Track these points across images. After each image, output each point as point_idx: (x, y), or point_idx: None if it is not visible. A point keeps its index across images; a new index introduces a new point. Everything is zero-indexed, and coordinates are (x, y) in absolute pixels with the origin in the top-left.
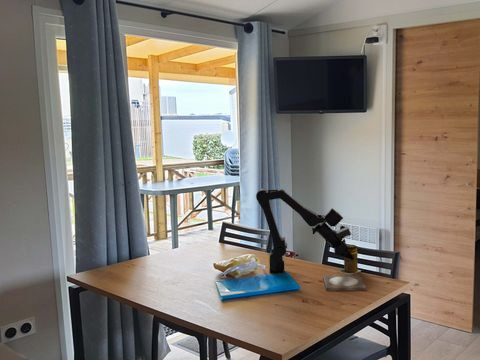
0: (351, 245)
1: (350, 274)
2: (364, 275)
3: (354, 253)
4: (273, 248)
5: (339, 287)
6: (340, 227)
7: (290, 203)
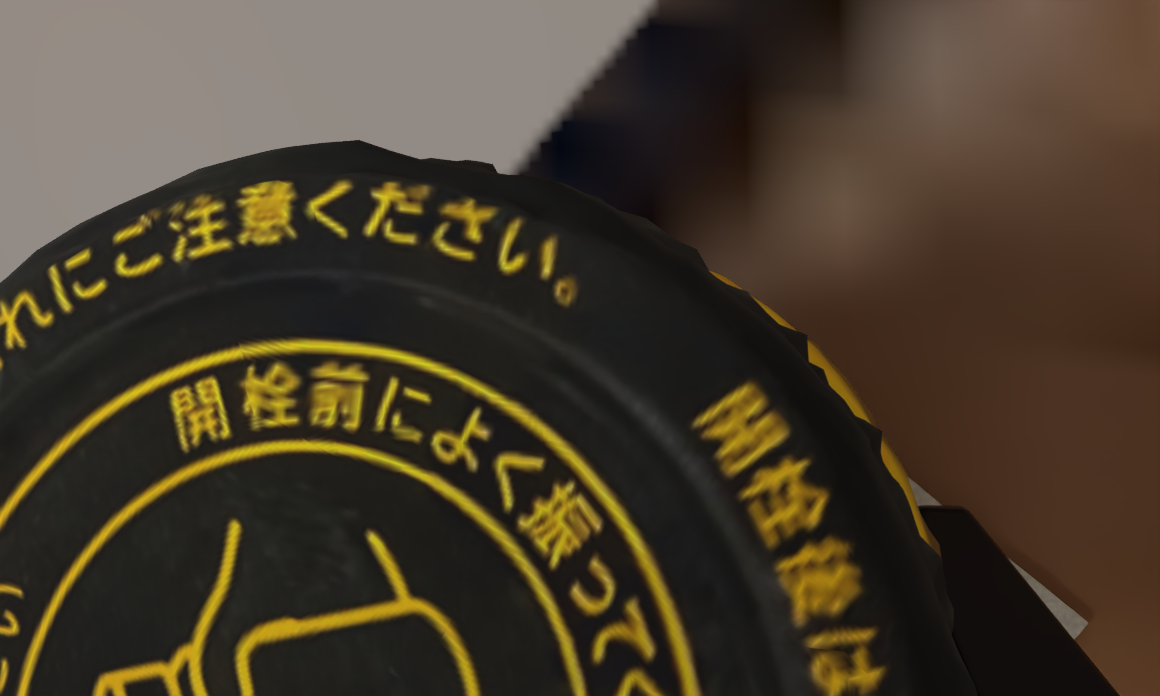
0: (76, 643)
1: None
2: (1074, 216)
3: (890, 454)
4: None
5: None
6: None
7: None
